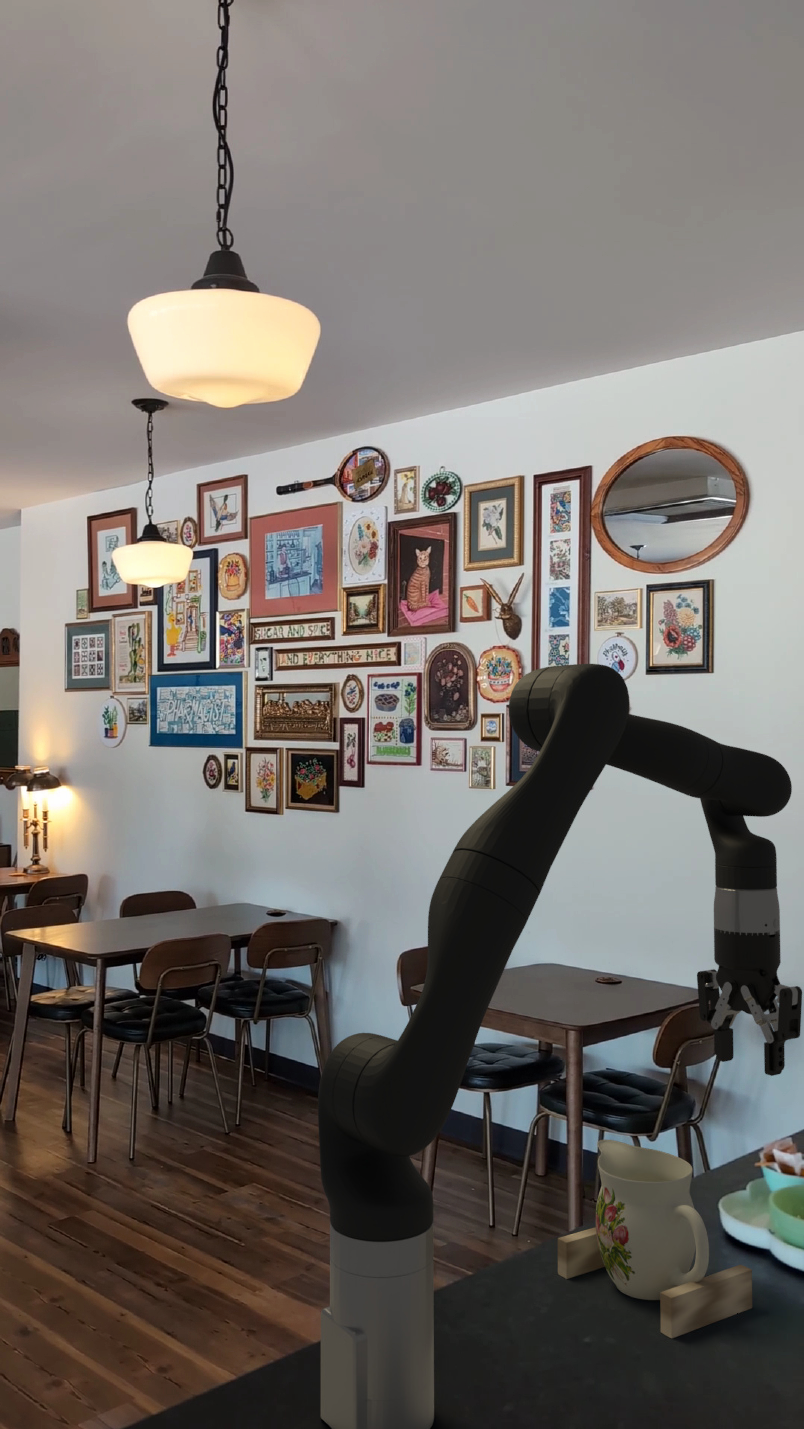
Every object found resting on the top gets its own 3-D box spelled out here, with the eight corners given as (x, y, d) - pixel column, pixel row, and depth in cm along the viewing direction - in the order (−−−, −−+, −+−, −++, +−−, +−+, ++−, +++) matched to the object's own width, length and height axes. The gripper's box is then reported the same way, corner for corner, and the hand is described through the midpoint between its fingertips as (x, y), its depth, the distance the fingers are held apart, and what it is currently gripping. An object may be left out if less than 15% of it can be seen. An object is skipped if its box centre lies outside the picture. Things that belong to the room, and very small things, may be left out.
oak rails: (671, 1338, 117) (671, 1298, 117) (557, 1274, 132) (557, 1238, 132) (752, 1307, 124) (751, 1269, 124) (635, 1249, 138) (634, 1215, 138)
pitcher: (664, 1336, 117) (662, 1198, 118) (564, 1268, 133) (562, 1146, 134) (748, 1314, 122) (745, 1180, 123) (641, 1250, 138) (640, 1133, 139)
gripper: (679, 920, 142) (681, 1058, 141) (774, 936, 130) (777, 1086, 129) (721, 916, 146) (723, 1050, 145) (818, 930, 134) (820, 1076, 133)
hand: (748, 1066), depth 137 cm, fingers open, 6 cm apart
